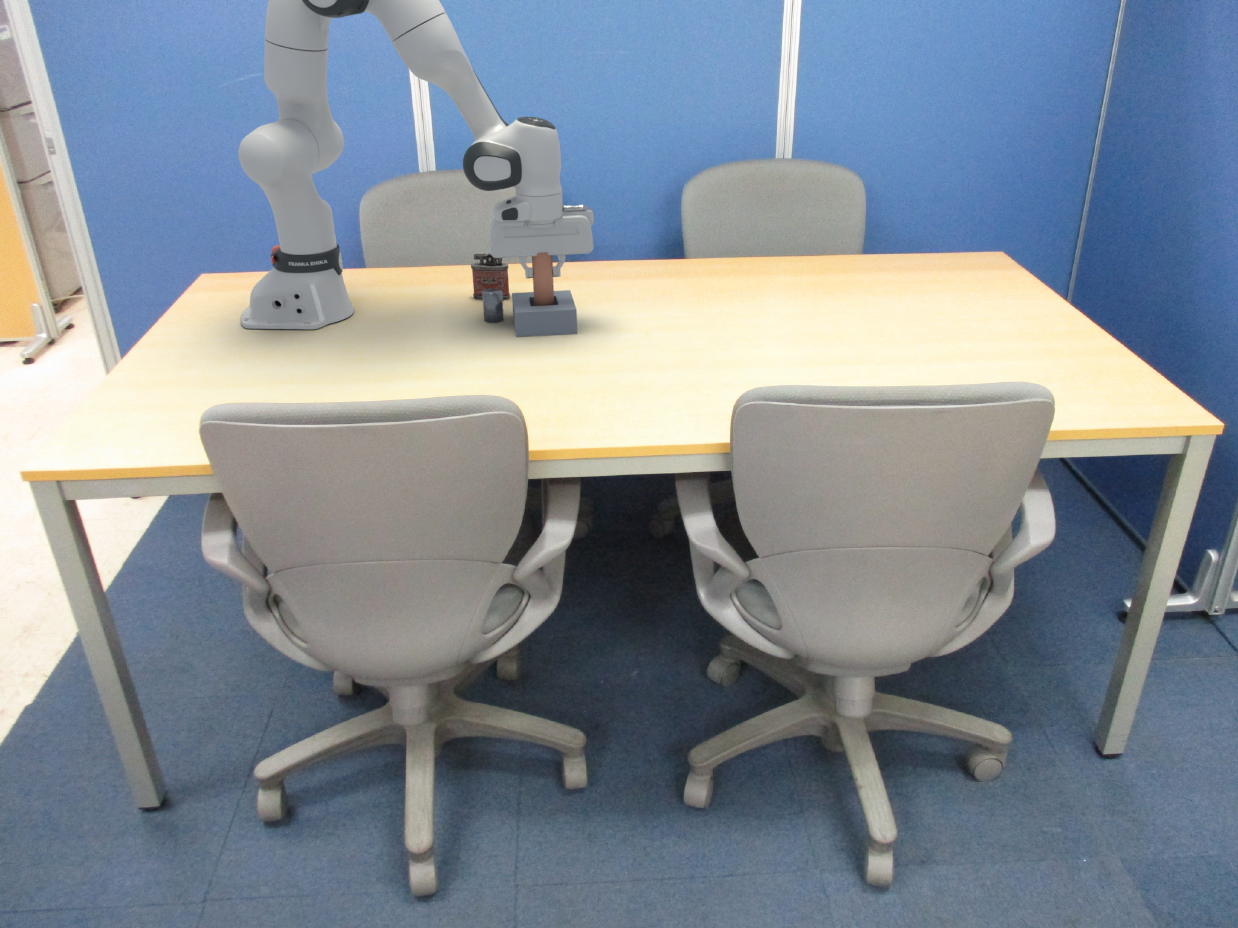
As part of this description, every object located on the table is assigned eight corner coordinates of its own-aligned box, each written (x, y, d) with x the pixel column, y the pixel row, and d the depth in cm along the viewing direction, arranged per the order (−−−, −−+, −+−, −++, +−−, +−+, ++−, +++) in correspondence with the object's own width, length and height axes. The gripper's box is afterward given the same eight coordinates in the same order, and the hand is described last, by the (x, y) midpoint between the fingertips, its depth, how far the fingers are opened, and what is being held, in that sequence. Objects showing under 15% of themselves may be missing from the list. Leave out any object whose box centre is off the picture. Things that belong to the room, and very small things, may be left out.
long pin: (535, 307, 196) (532, 253, 191) (533, 301, 199) (530, 247, 194) (555, 306, 196) (552, 252, 191) (553, 300, 200) (551, 246, 195)
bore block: (516, 337, 194) (515, 312, 192) (513, 316, 205) (511, 293, 202) (577, 333, 196) (576, 309, 193) (570, 313, 206) (570, 290, 204)
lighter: (511, 296, 216) (508, 251, 211) (508, 301, 213) (505, 255, 208) (475, 295, 217) (472, 250, 212) (471, 300, 214) (468, 254, 209)
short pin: (484, 323, 201) (482, 295, 198) (484, 317, 204) (482, 289, 202) (504, 322, 201) (502, 294, 199) (503, 316, 205) (501, 288, 202)
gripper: (591, 200, 193) (593, 269, 199) (486, 205, 190) (491, 274, 197) (595, 208, 187) (597, 279, 194) (487, 213, 185) (492, 284, 191)
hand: (542, 277), depth 195 cm, fingers closed on long pin, 4 cm apart
